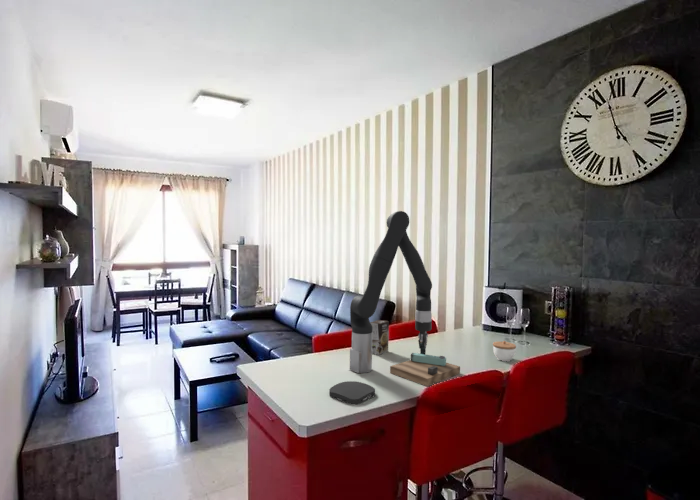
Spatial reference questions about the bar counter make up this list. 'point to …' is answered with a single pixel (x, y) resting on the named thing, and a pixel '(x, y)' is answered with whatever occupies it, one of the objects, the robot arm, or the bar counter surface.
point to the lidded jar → (504, 350)
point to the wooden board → (424, 371)
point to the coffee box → (380, 336)
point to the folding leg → (428, 359)
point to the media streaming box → (352, 392)
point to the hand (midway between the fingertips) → (422, 356)
